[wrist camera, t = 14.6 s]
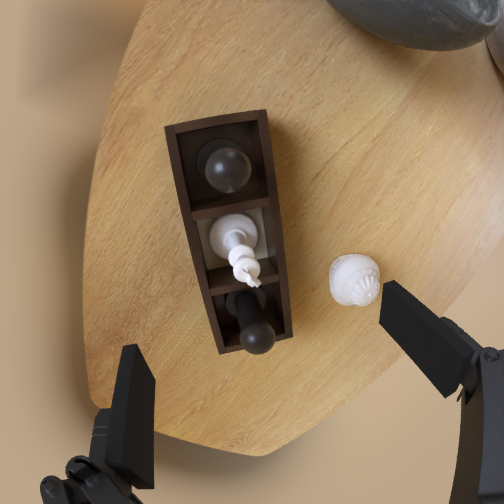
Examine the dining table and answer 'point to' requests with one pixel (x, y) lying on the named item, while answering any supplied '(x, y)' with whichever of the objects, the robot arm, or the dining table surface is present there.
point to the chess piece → (236, 244)
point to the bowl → (424, 21)
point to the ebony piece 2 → (251, 319)
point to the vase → (497, 41)
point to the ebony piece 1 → (223, 165)
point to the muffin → (354, 280)
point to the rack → (219, 203)
